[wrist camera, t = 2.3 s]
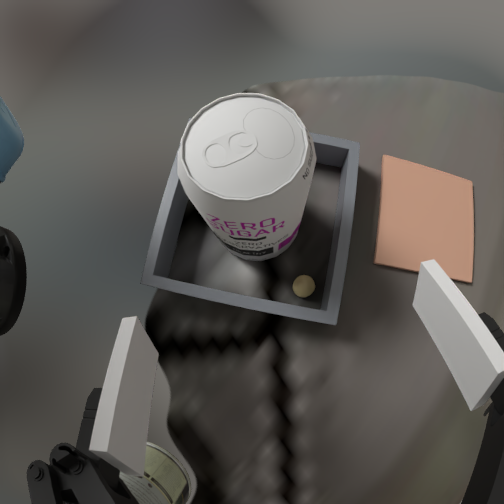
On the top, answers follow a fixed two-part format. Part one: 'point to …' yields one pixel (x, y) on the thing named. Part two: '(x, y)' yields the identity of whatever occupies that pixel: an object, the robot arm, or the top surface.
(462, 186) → the terracotta tile
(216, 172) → the supplement can
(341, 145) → the parts tub
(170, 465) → the coffee can
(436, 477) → the top surface
